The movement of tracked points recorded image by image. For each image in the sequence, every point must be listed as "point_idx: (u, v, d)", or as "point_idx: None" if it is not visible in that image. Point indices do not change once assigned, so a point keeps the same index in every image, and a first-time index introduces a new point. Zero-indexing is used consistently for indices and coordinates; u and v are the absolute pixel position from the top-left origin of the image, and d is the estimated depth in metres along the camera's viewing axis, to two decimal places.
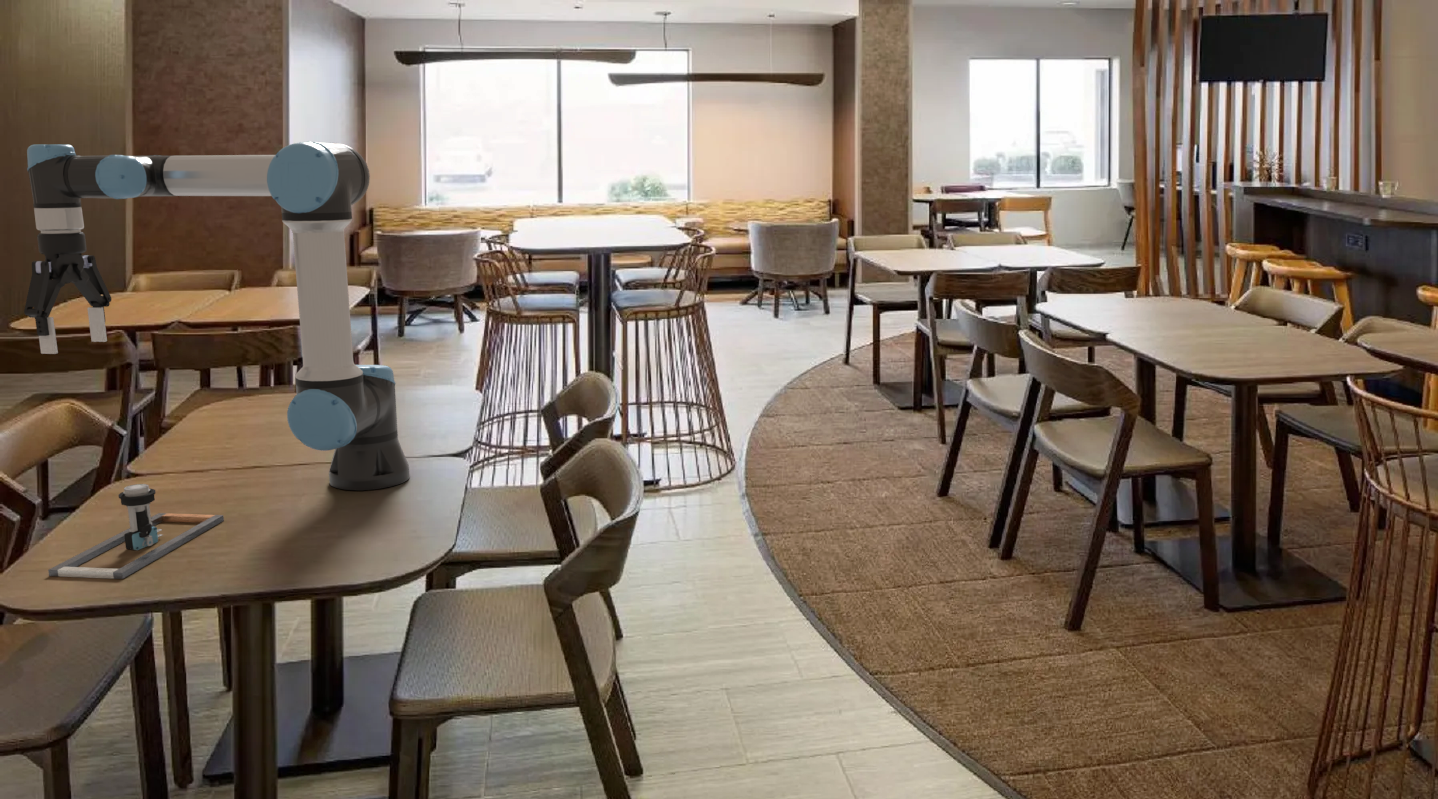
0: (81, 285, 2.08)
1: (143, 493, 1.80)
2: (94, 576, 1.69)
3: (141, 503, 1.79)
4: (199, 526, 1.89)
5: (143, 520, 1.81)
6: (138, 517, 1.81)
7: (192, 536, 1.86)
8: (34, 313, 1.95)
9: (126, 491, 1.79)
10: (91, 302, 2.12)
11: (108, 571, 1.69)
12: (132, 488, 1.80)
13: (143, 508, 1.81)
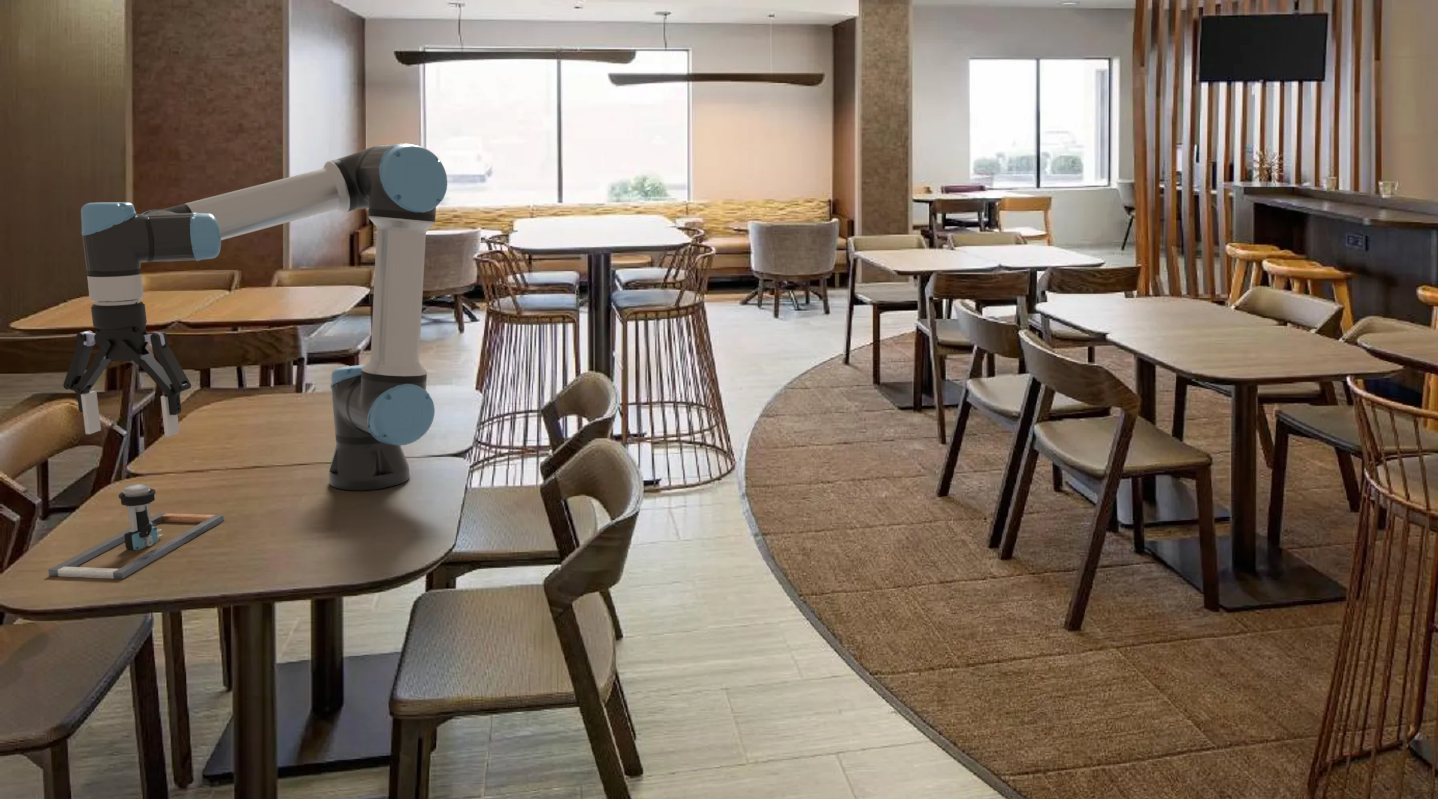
0: None
1: (143, 493, 1.80)
2: (94, 576, 1.69)
3: (141, 503, 1.79)
4: (199, 526, 1.89)
5: (143, 520, 1.81)
6: (138, 517, 1.81)
7: (192, 536, 1.86)
8: None
9: (126, 491, 1.79)
10: None
11: (108, 571, 1.69)
12: (132, 488, 1.80)
13: (143, 508, 1.81)
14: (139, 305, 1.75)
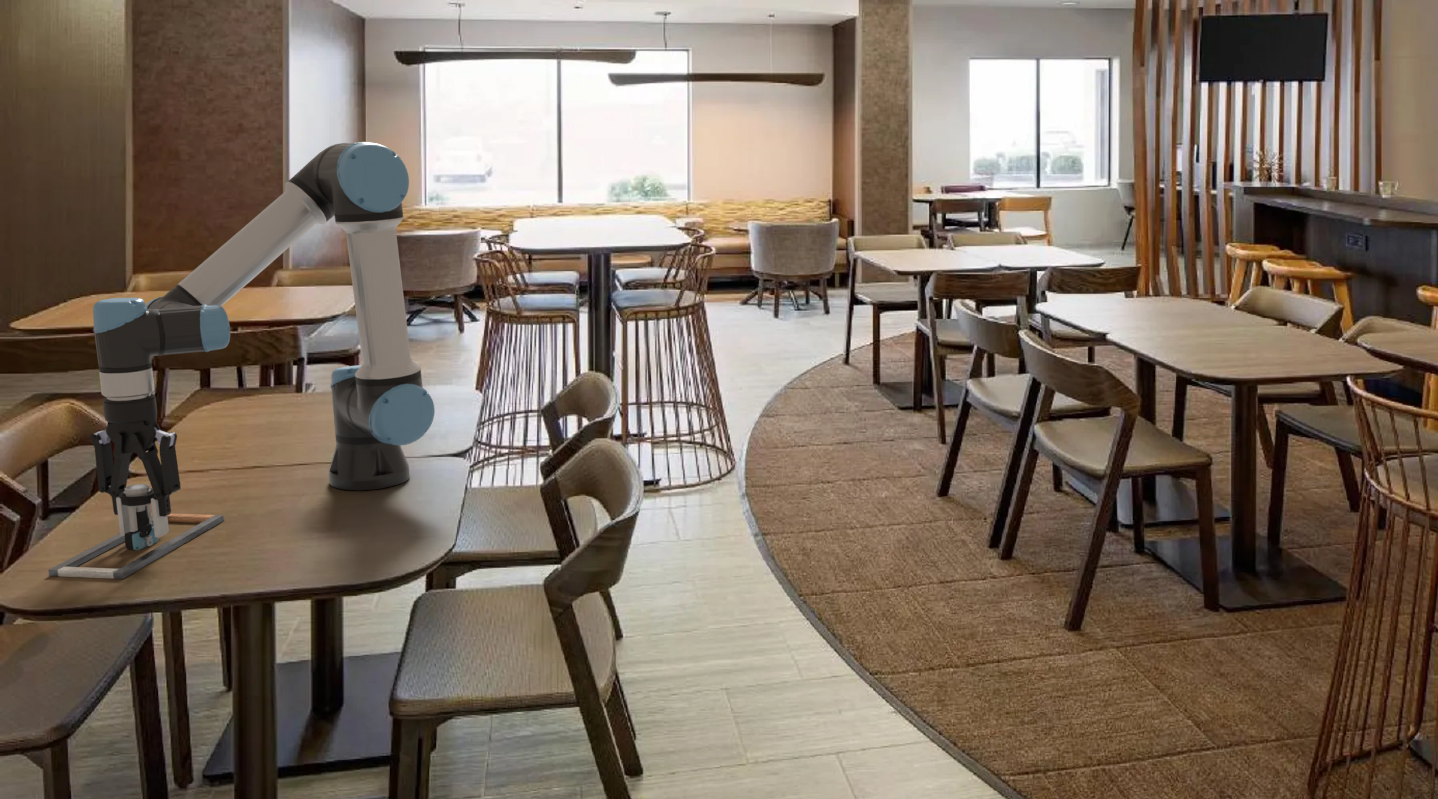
0: None
1: (144, 493, 1.80)
2: (94, 576, 1.69)
3: (142, 504, 1.79)
4: (199, 526, 1.89)
5: (144, 520, 1.81)
6: (138, 517, 1.81)
7: (192, 536, 1.86)
8: None
9: (127, 491, 1.79)
10: (161, 488, 1.82)
11: (108, 571, 1.69)
12: (133, 488, 1.80)
13: (143, 508, 1.81)
14: (150, 399, 1.78)
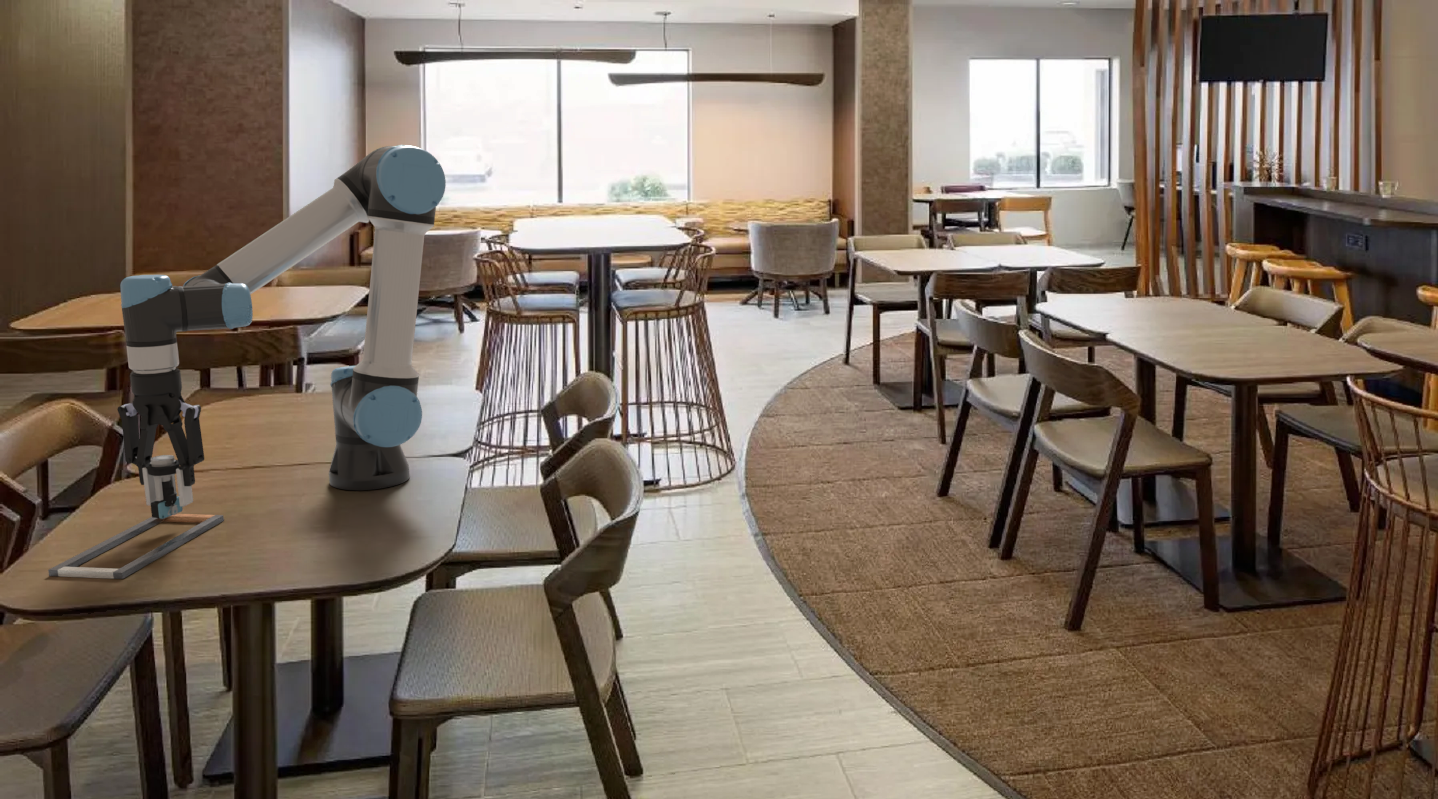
0: None
1: (169, 464, 1.87)
2: (94, 576, 1.69)
3: (168, 474, 1.86)
4: (199, 526, 1.89)
5: (169, 490, 1.88)
6: (164, 487, 1.87)
7: (192, 536, 1.86)
8: None
9: (153, 461, 1.86)
10: (186, 458, 1.88)
11: (108, 571, 1.69)
12: (158, 459, 1.87)
13: (169, 478, 1.88)
14: (175, 372, 1.84)
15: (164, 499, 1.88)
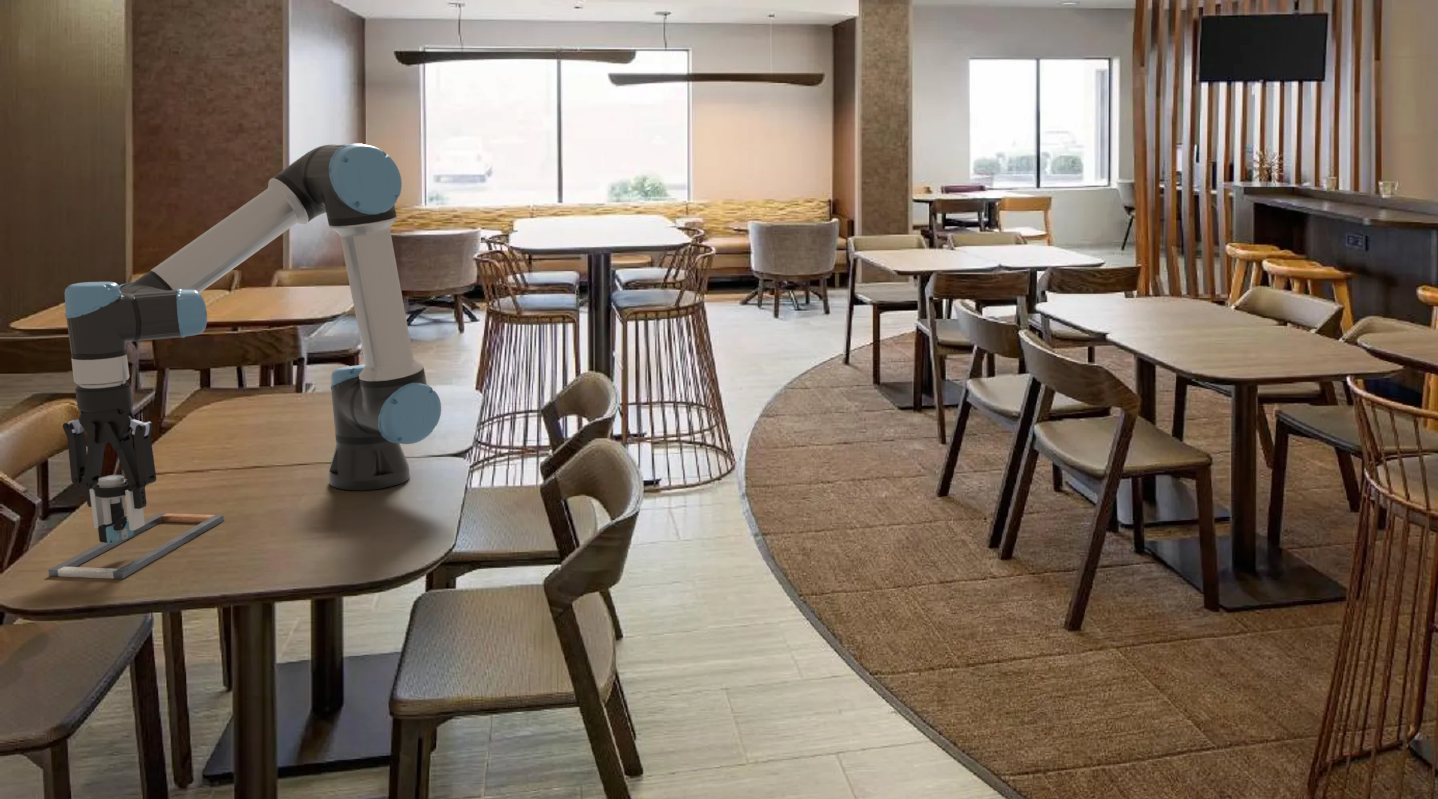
0: None
1: (118, 484, 1.74)
2: (94, 576, 1.69)
3: (116, 495, 1.73)
4: (199, 526, 1.89)
5: (118, 512, 1.75)
6: (113, 509, 1.75)
7: (192, 536, 1.86)
8: None
9: (100, 482, 1.73)
10: (137, 479, 1.76)
11: (108, 571, 1.69)
12: (107, 479, 1.74)
13: (118, 500, 1.75)
14: (124, 386, 1.72)
15: (113, 522, 1.75)
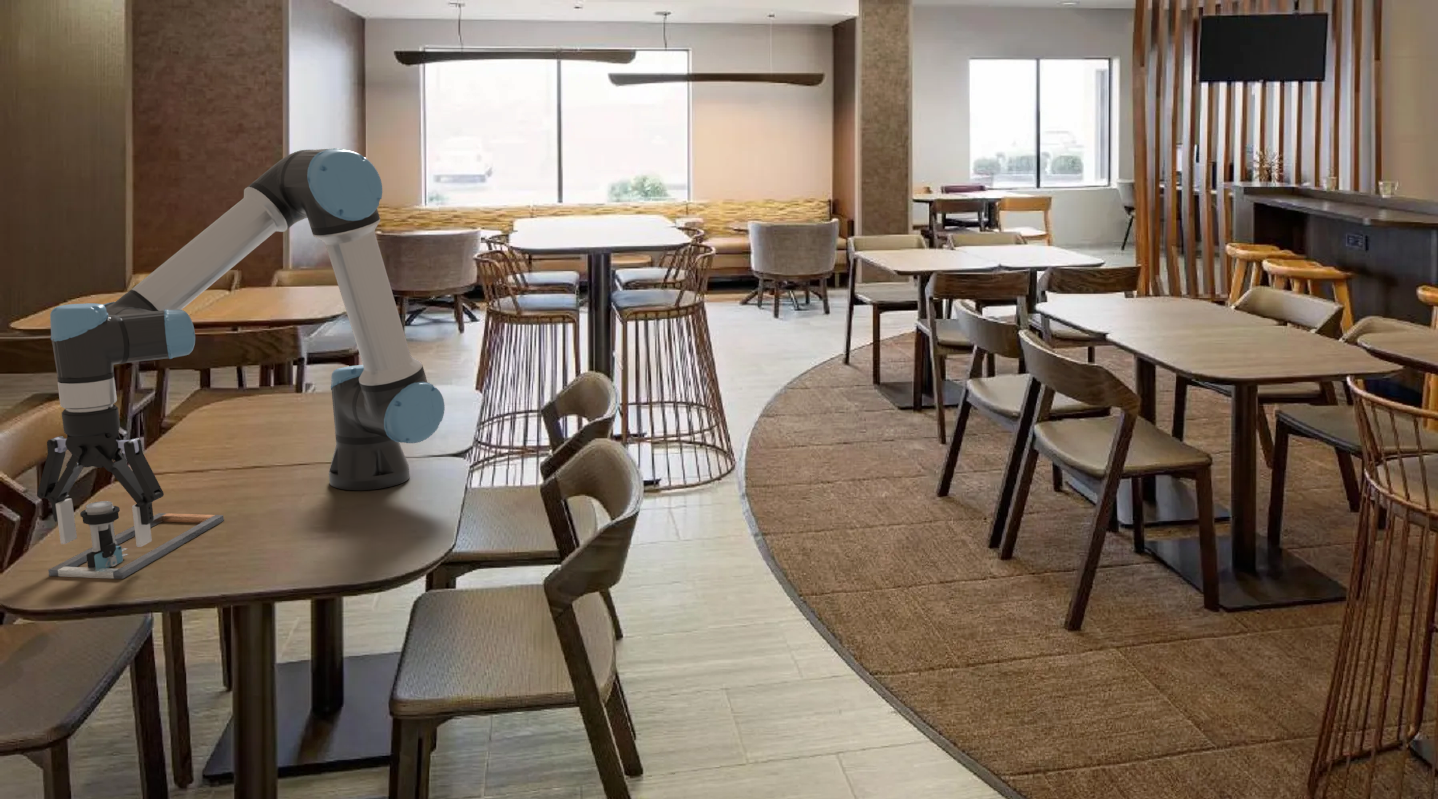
0: None
1: (106, 511, 1.71)
2: (94, 576, 1.69)
3: (104, 522, 1.70)
4: (199, 526, 1.89)
5: (107, 539, 1.72)
6: (101, 536, 1.72)
7: (192, 536, 1.86)
8: None
9: (88, 509, 1.70)
10: (143, 496, 1.72)
11: (108, 571, 1.69)
12: (94, 506, 1.71)
13: (106, 527, 1.72)
14: (112, 410, 1.69)
15: (101, 550, 1.72)
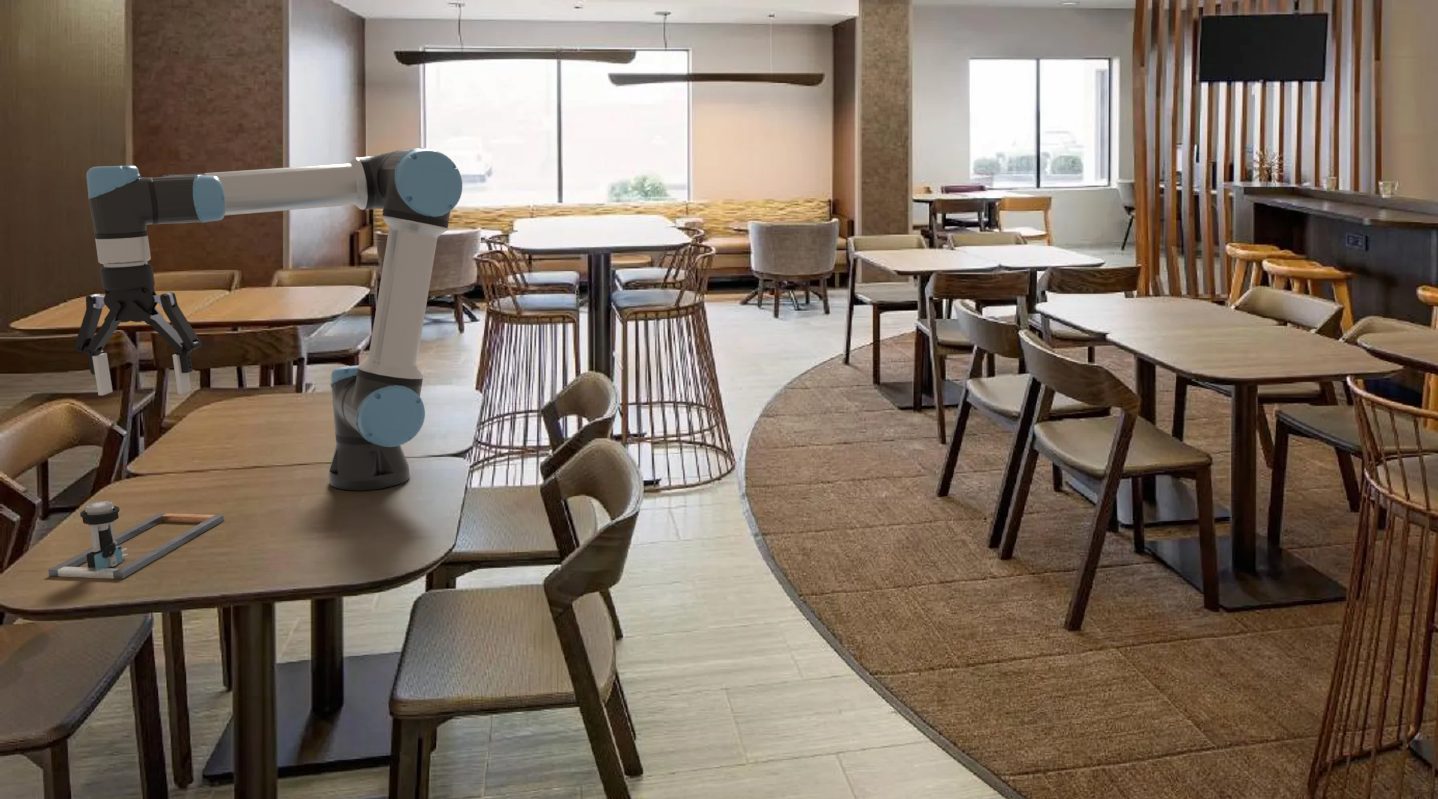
0: None
1: (106, 511, 1.71)
2: (94, 576, 1.69)
3: (104, 522, 1.70)
4: (199, 526, 1.89)
5: (106, 539, 1.72)
6: (101, 536, 1.72)
7: (192, 536, 1.86)
8: None
9: (88, 509, 1.70)
10: None
11: (108, 571, 1.69)
12: (94, 506, 1.71)
13: (106, 527, 1.72)
14: (147, 266, 1.79)
15: (101, 550, 1.72)
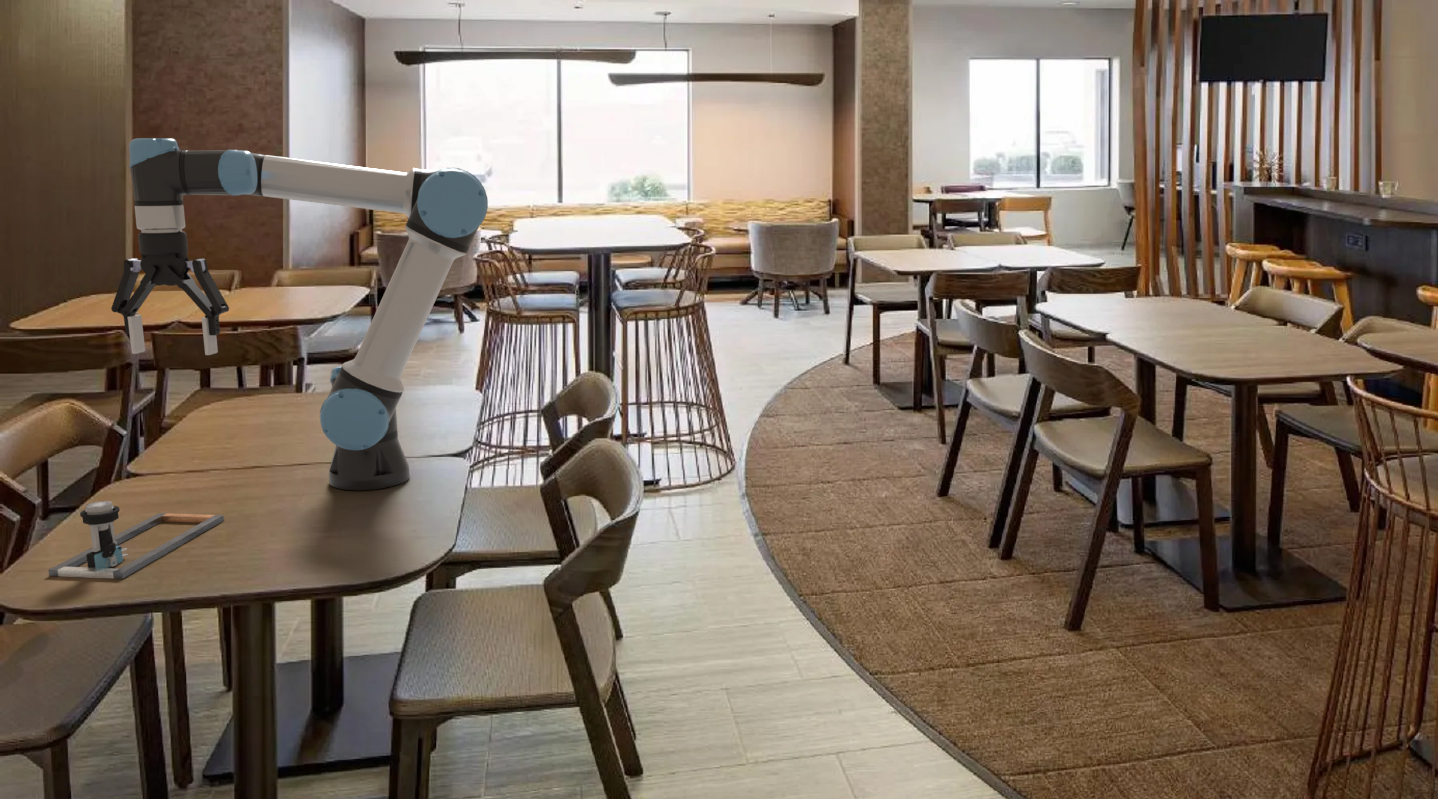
0: None
1: (106, 511, 1.71)
2: (94, 576, 1.69)
3: (104, 522, 1.70)
4: (199, 526, 1.89)
5: (106, 539, 1.72)
6: (101, 536, 1.72)
7: (192, 536, 1.86)
8: None
9: (88, 509, 1.70)
10: None
11: (108, 571, 1.69)
12: (94, 506, 1.71)
13: (106, 527, 1.72)
14: (182, 233, 1.91)
15: (101, 549, 1.72)
